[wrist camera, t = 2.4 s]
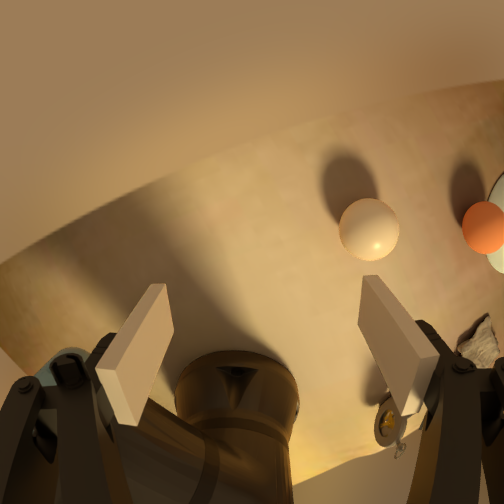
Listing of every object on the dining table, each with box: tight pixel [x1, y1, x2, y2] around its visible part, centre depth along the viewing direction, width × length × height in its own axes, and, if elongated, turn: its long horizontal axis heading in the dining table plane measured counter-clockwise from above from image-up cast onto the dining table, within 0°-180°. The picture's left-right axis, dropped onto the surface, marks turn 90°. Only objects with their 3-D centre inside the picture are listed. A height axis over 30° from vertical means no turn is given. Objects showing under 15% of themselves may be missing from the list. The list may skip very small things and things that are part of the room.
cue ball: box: [339, 198, 399, 261], centre depth 27 cm, size 6×6×6 cm
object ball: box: [462, 201, 504, 254], centre depth 26 cm, size 6×6×6 cm
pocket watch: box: [374, 396, 424, 459], centre depth 33 cm, size 8×8×10 cm
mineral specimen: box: [457, 316, 500, 368], centre depth 34 cm, size 6×12×4 cm, turn 141°
